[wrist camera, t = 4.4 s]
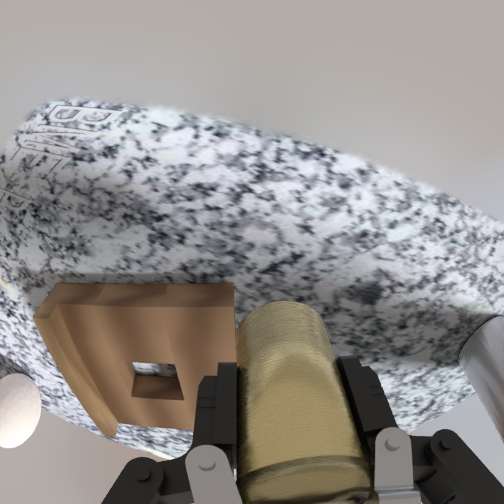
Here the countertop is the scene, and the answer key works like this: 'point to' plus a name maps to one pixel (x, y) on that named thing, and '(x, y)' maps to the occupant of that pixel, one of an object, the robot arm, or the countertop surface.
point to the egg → (18, 409)
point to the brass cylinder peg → (294, 413)
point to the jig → (138, 347)
